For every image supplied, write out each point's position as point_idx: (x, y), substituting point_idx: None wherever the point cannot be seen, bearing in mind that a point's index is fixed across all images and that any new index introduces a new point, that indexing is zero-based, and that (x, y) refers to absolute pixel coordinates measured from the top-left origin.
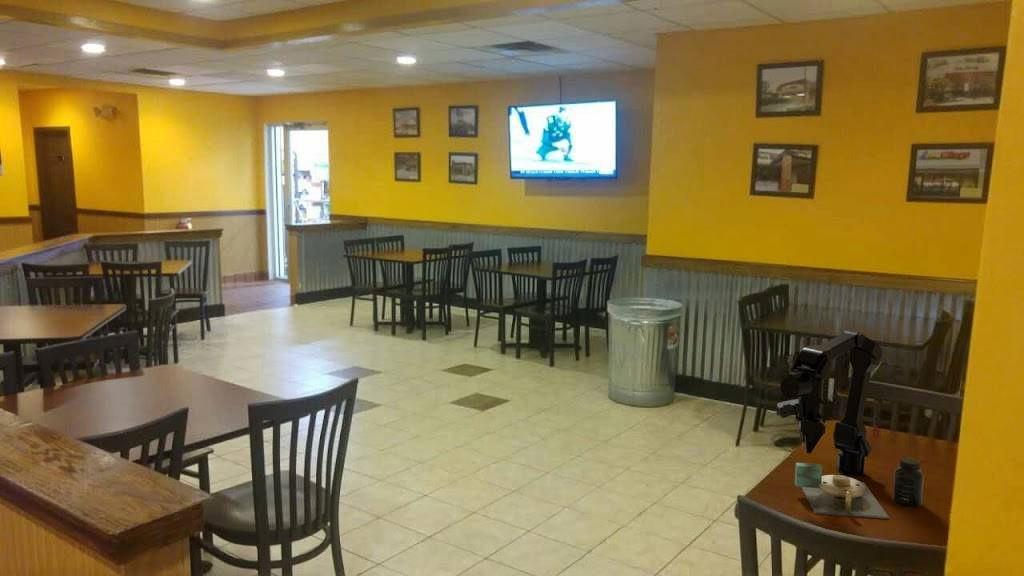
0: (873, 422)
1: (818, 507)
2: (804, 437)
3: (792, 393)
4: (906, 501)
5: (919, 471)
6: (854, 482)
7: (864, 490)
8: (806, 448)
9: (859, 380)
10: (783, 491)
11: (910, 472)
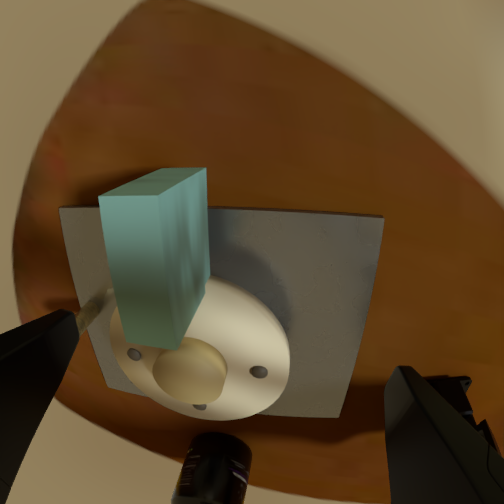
0: None
1: (87, 228)
2: (404, 409)
3: None
4: (188, 449)
5: None
6: (221, 405)
7: (162, 403)
8: (23, 326)
9: None
10: (229, 115)
11: None
